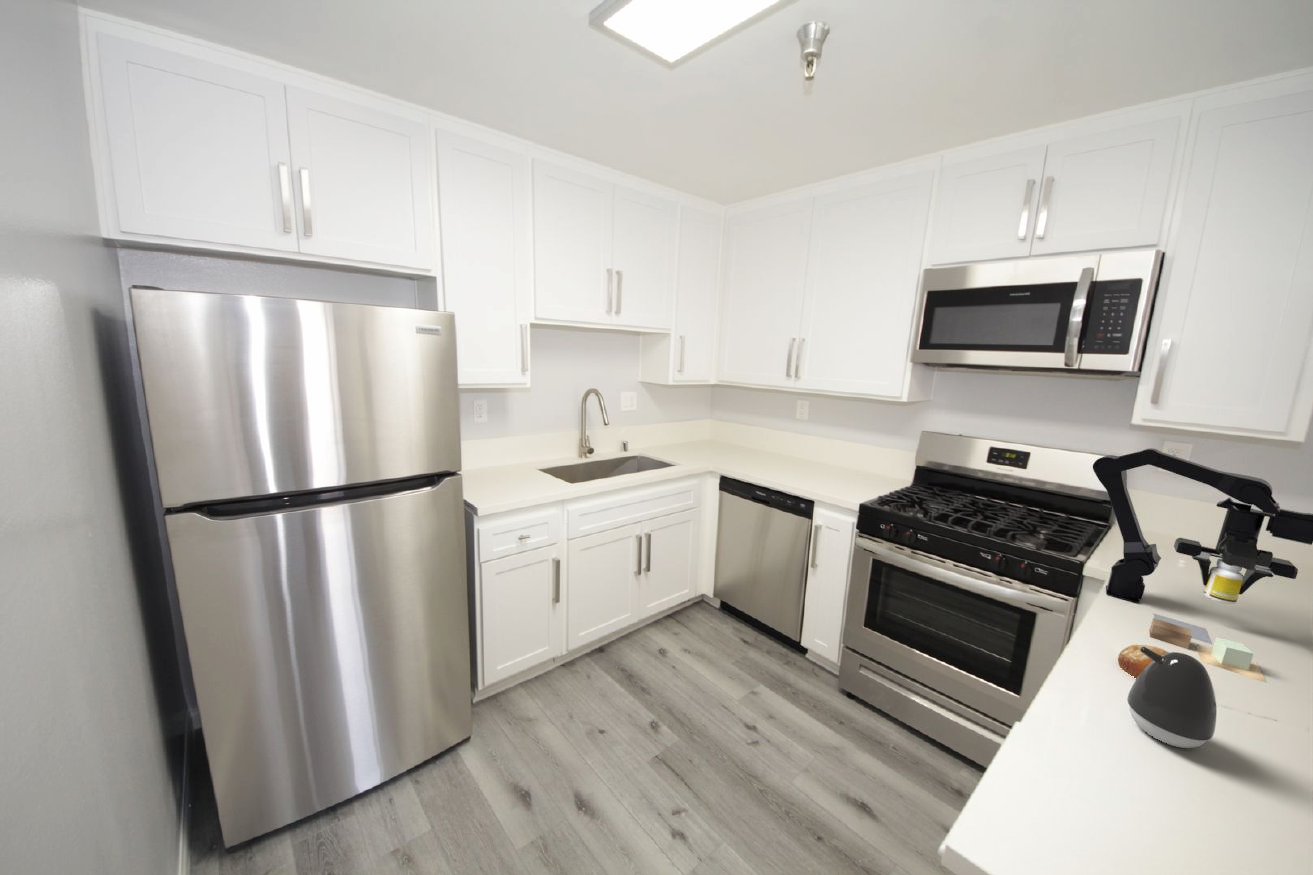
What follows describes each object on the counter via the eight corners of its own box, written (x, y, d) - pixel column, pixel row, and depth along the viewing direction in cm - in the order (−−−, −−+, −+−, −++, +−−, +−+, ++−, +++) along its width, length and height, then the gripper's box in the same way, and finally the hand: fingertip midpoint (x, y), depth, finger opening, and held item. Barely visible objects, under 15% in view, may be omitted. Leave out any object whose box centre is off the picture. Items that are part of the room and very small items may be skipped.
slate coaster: (1155, 629, 116) (1156, 627, 116) (1152, 615, 123) (1153, 613, 122) (1211, 646, 110) (1212, 644, 110) (1204, 630, 117) (1205, 628, 117)
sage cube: (1221, 663, 103) (1226, 647, 102) (1210, 653, 106) (1216, 637, 105) (1248, 670, 101) (1253, 653, 100) (1236, 659, 104) (1241, 643, 104)
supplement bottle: (1243, 606, 115) (1254, 568, 113) (1215, 602, 116) (1227, 565, 114) (1221, 595, 120) (1232, 558, 118) (1196, 592, 121) (1206, 555, 119)
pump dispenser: (1117, 702, 90) (1138, 629, 87) (1199, 732, 83) (1224, 655, 80) (1123, 734, 82) (1146, 655, 79) (1214, 770, 76) (1242, 686, 73)
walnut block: (1149, 639, 112) (1153, 624, 111) (1148, 633, 114) (1153, 617, 114) (1186, 652, 107) (1191, 636, 107) (1185, 645, 110) (1190, 629, 110)
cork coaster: (1200, 663, 103) (1201, 661, 103) (1194, 645, 110) (1195, 643, 110) (1266, 685, 97) (1267, 682, 97) (1255, 664, 104) (1256, 662, 104)
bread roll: (1167, 689, 100) (1166, 648, 102) (1206, 701, 90) (1204, 656, 92) (1109, 676, 103) (1108, 637, 105) (1140, 686, 94) (1139, 643, 95)
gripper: (1188, 526, 115) (1171, 586, 118) (1315, 551, 103) (1292, 617, 106) (1182, 515, 123) (1166, 571, 126) (1299, 538, 111) (1278, 599, 114)
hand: (1221, 589), depth 118 cm, fingers closed on supplement bottle, 5 cm apart
